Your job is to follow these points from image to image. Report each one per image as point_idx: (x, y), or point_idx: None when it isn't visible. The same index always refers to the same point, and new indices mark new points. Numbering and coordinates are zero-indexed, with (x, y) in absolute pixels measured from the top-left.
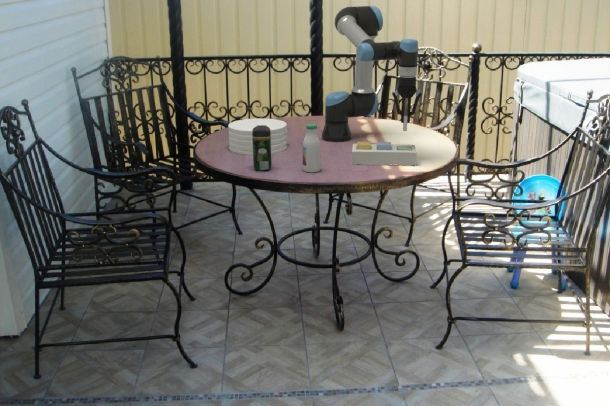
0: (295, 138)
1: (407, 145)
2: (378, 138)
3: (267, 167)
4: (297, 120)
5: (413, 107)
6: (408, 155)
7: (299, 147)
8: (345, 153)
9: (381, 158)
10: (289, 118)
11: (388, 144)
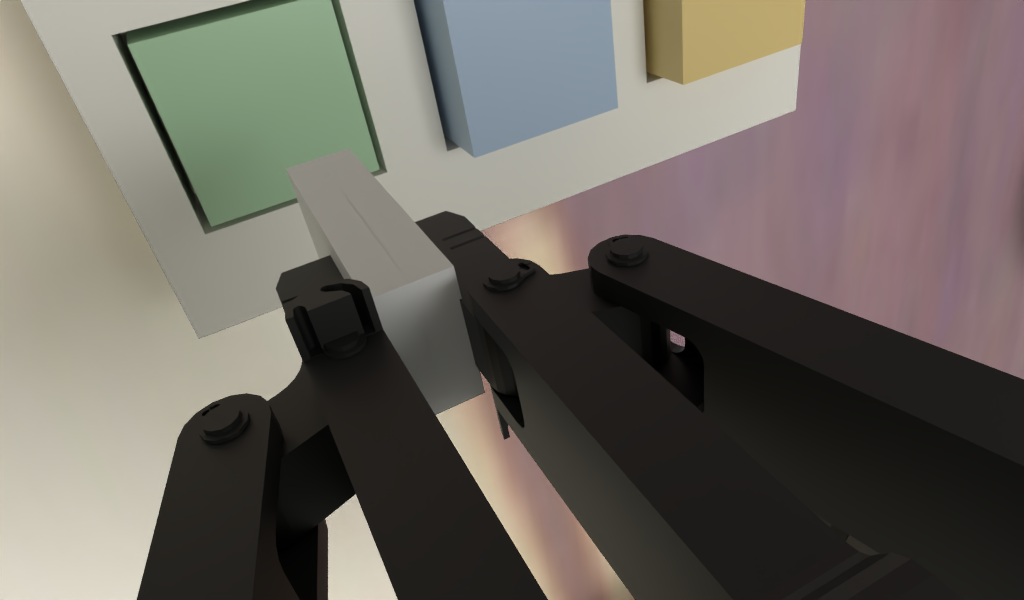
0: (967, 339)
1: (274, 269)
2: (581, 577)
3: None
4: None
5: (252, 579)
6: None
7: (983, 175)
8: (757, 149)
9: None
10: None
11: (481, 24)
